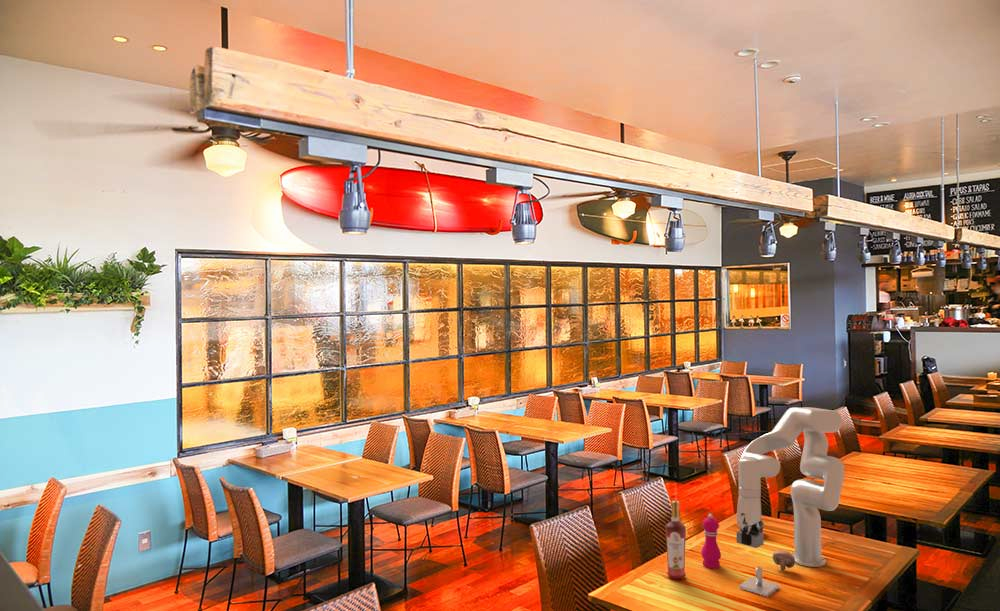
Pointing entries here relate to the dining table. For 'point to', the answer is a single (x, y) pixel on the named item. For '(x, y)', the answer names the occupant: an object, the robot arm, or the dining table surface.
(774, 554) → the mushroom
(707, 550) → the pepper mill
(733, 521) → the dining table surface
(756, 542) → the grey rectangular frame
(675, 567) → the liquor
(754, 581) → the keeper
